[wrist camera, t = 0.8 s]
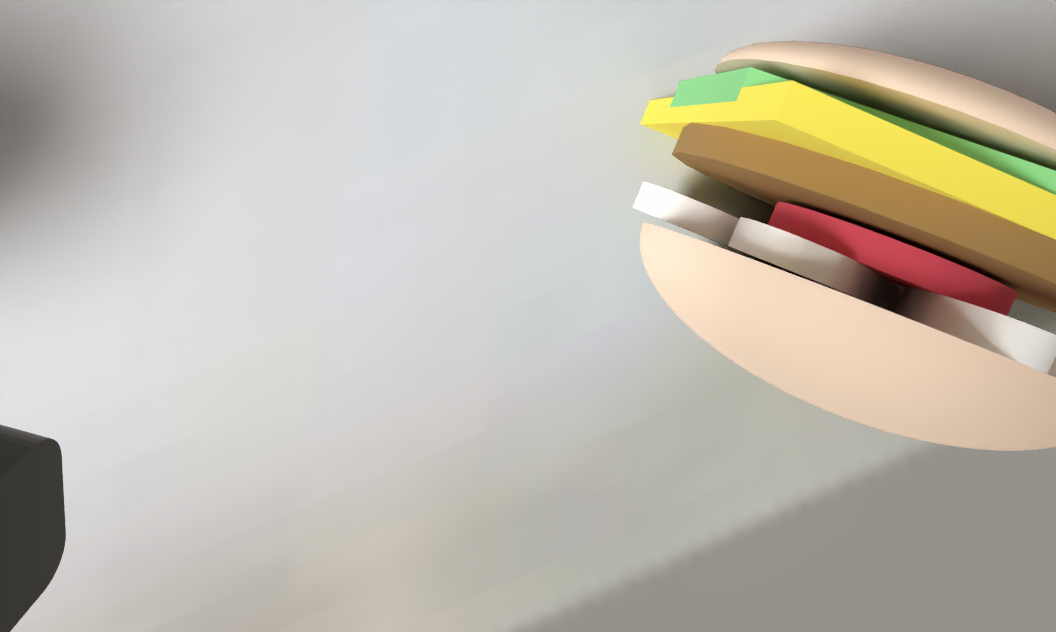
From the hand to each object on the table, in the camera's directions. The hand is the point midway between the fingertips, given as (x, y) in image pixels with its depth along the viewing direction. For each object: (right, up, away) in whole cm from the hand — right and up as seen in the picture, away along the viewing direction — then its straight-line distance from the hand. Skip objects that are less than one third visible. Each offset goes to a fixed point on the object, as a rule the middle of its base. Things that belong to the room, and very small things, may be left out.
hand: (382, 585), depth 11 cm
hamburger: (+10, +6, +19) cm, 23 cm away
